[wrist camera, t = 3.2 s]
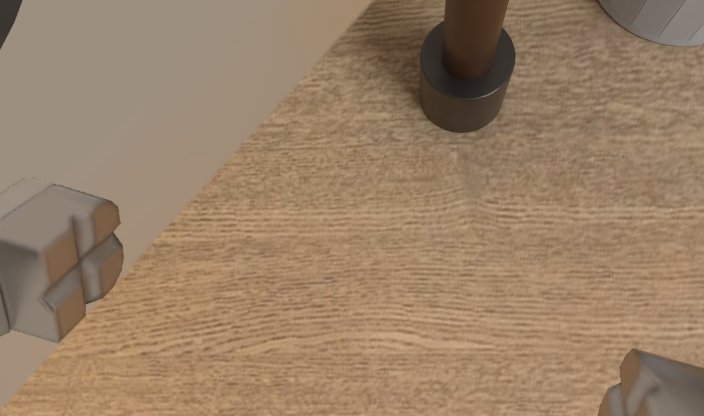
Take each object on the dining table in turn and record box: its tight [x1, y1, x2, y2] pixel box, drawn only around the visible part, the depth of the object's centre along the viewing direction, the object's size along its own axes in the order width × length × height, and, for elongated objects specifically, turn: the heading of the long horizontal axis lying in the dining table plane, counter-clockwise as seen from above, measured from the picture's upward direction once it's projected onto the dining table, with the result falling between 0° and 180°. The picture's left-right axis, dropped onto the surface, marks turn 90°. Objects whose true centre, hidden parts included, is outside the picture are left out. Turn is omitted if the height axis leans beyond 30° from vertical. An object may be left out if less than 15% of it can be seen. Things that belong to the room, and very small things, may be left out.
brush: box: [420, 0, 515, 133], centre depth 22 cm, size 4×4×16 cm
